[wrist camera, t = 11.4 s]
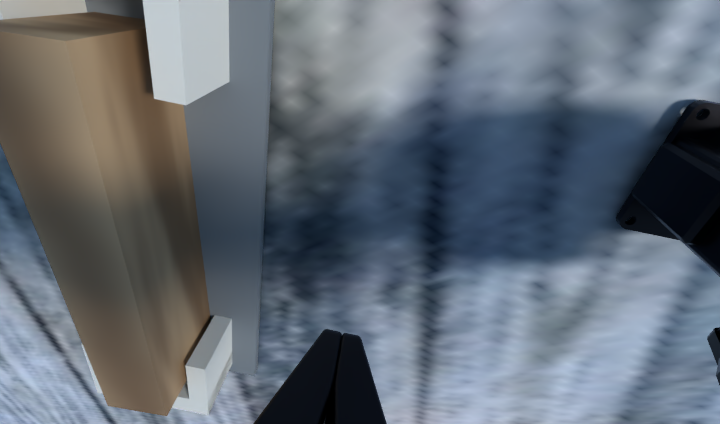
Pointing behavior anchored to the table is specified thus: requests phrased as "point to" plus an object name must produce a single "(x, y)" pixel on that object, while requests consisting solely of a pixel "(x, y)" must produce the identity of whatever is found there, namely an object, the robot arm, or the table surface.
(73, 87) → the wooden block
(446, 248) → the table surface
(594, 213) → the table surface
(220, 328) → the end cap frame
